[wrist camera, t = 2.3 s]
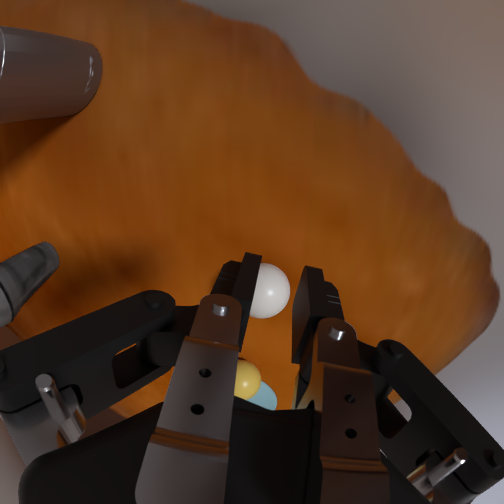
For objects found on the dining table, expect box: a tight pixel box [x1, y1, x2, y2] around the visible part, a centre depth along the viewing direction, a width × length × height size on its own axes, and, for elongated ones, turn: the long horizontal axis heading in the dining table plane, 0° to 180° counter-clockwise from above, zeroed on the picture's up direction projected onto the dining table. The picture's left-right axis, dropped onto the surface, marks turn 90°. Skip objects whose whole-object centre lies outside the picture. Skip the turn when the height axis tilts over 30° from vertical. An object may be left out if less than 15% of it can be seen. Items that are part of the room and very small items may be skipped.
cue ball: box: [250, 263, 290, 318], centre depth 30 cm, size 6×6×6 cm
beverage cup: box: [0, 242, 59, 327], centre depth 26 cm, size 7×7×20 cm
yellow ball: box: [234, 360, 261, 400], centre depth 36 cm, size 6×6×6 cm
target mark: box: [247, 381, 277, 410], centre depth 41 cm, size 13×13×1 cm
